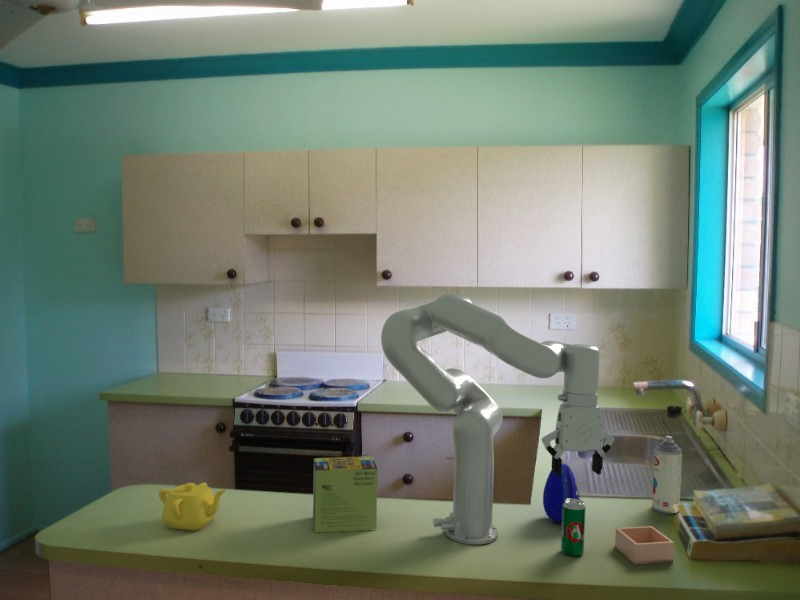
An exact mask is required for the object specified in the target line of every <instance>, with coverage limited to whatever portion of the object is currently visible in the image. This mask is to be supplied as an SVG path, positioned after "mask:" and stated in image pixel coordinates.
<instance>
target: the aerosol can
mask: <svg viewBox="0 0 800 600" xmlns="http://www.w3.org/2000/svg"><path fill="white" fill-rule="evenodd" d="M682 458H683V452H682V448H681V447H680V446H678V444H676V442H675V441H674V440H673V436H671V435H665V439H664V440H663V441H662V442H659V444H657V445H655V448H654V459H653V481H652V483H653V485H652V501H651V502H652V503H651V504H652V505H651V508H652V510H653V511H655V512H657V513H659V514H660V513H661V514H664V515H672V514H671V509H672V506H673V505H674V504H678V503H681V502H680V501H681V481H682V463H683V462H682V460H683V459H682Z"/></svg>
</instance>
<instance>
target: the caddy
mask: <svg viewBox="0 0 800 600" xmlns="http://www.w3.org/2000/svg"><path fill="white" fill-rule="evenodd" d="M614 540H615V541H614V548H615V549H617V550H618V551H619V552H620V553H621V554H623V556H624V557H626V558H627V559H628V560H630V561H631V562H632V563H633V564H634V565H649V564H661V563H662V564H663V563H674V552H675V542H674V541H673V540H671V539H670V538H669V537H667V536H666V535H665V534H664V533H662V532H660V531H659V530H658V529H657V528H655V527H654V526H652V525H649V526H632V527H629V526H628V527H617V528H615V538H614Z"/></svg>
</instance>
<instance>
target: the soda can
mask: <svg viewBox="0 0 800 600" xmlns="http://www.w3.org/2000/svg"><path fill="white" fill-rule="evenodd" d="M586 509H587V508H586V506H585V502H584V501H583V500H581V499H580V500H579V499H573V498H570V499H566V500H565V502H564V504H563V511H562V523H561V539H560V540H561V541H560V542H561V544H560V545H561V546H560V547H561V548H560V550H561V551H562V553H563V554H564V555H565V556H569V557H574V558H576V557H581V556H582V555H584V553H585V535H586V534H585V533H586V527H585V526H586Z"/></svg>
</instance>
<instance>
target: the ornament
mask: <svg viewBox="0 0 800 600" xmlns="http://www.w3.org/2000/svg"><path fill="white" fill-rule="evenodd" d="M542 496H543V497H542V504H543V509H544V512H545V514H546V516H547V517H548V519H550V520H551V521H552V522H554V523H555V522H556V523H558V524H562V511H563V504H564V502H565V500H566V499H570V498H573V499H579V500H581V499H580V498H581V497H580V493H579V489H578V485H577V481H576V477H575V476H574V472H573V470H572V469H571V467H570V466H569V465H568V464H566V463H562V471H561V476H557V475H556V474H554V473H553V471H552V469H551V470H550V472H549V474H548V476H547V478H546V482H545V484H544V487H543V493H542Z"/></svg>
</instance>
